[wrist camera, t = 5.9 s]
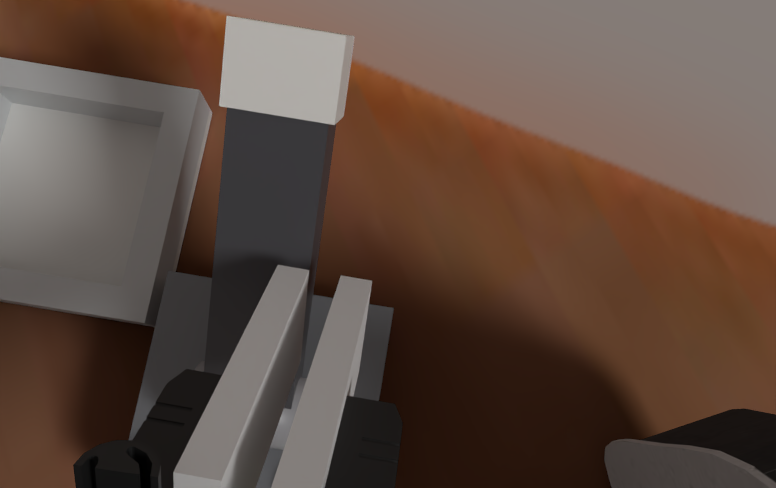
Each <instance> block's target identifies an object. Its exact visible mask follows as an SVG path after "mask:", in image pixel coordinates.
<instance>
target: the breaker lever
mask: <svg viewBox="0 0 776 488" xmlns="http://www.w3.org/2000/svg"><path fill="white" fill-rule="evenodd" d="M353 45H354V36H351V35H345V34H339V33H333V32H327V31H321V30H314V29H308V28H303V27H296V26H290V25H284V24H278V23H272V22H266V21H260V20H254V19H248V18H240V17H232V16H227V19H226V31H225V43H224V54H223V66H222V78H221V90H220V101H219V106H222V107H227V115H226V127H225V138H224V149H223V161H222V172H221V183H220V195H219V206H218V217H217V228H216V240H215V251H214V262H213V274H212V285H211V296H210V308H209V319H208V330H207V342H206V353H205V361H201V362H200V363H199V364H198V365H197V367H196V368H195V370H196V371H202V372H208V373H213V374H219V375H223V373H224V371H225V369H226V367H227V365H228V363H229V361H230V359H231V357H232V355H233V353H234V351H235V349H236V347H237V345H238V343H239V341H240V339H241V337H242V335H243V333H244V331H245V329H246V327H247V325H248V323H249V321H250V319H251V317H252V315H253V313H254V311H255V309H256V307H257V305H258V303H259V301H260V299H261V297H262V295H263V293H264V291H265V289H266V287H267V285H268V283H269V281H270V279H271V277H272V275H273V273H274V272H275V270H276V268H277V266H278V265H283V266H288V267H294V268H300V269H306V270H309V277H308V288H307V298H306V309H305V320H304V331H303V341H302V352H301V361H300V364H299V367H298V370H297V372H296V375H295V378H294V381H293V384H292V387H291V389H290V392H289V395H288V398H287V401H286V403H285V406H284V409H283V412H282V415H281V418H280V420H279V423H278V426H277V429H276V432H275V434H274V437H273V440H272V443H271V446H270V448H275V449H281V450H284V447H285V444H286V441H287V438H288V435H289V432H290V429H291V426H292V423H293V420H294V416H295V413H296V410H297V407H298V404H299V401H300V398H301V395H302V392H303V389H304V386H305V383H306V380H307V378H302V374H303V366H304V359H305V351H306V344H307V336H308V329H309V322H310V314H311V307H312V299H313V292H314V285H315V277H316V270H317V262H318V255H319V247H320V240H321V233H322V225H323V218H324V210H325V203H326V195H327V188H328V181H329V173H330V166H331V158H332V151H333V143H334V136H335V129H336V123H337V122H338V121H339V120H340V119H341V118H342V117H344V110H345V103H346V96H347V88H348V81H349V74H350V66H351V59H352V52H353Z"/></svg>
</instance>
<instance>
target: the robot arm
mask: <svg viewBox="0 0 776 488" xmlns="http://www.w3.org/2000/svg"><path fill="white" fill-rule="evenodd" d="M308 277H309V270H306V269H300V268H294V267H288V266H283V265H278V266H277V268H276V270H275V272H274V273H273V275H272V277H271V279H270V281H269V283H268V285H267V287H266V289H265V291H264V293H263V295H262V297H261V299H260V301H259V303H258V305H257V307H256V309H255V311H254V313H253V315H252V317H251V319H250V321H249V323H248V325H247V327H246V329H245V331H244V333H243V335H242V337H241V339H240V341H239V343H238V345H237V347H236V349H235V351H234V353H233V355H232V357H231V359H230V361H229V363H228V365H227V367H226V369H225V371H224V373H223V375H219V374H213V373H208V372H202V371H196V370H191V369H186V370H184V371H183V372H182V373H180V374H179V375H177V376H176V377H175V378H173V379H172V380H171V381H169V382H168V383H167V384H166V386H165V387H164V389H163V391H162V392H161V394H160V395H159V397H158V399H157V400H156V404H155V405H153V407H152V409H151V410H150V412H149V414H148V415H147V418H146V421H144V422H143V424H142V425H141V427H140V428H139V430H138V432H137V433H136V435H135V437H134V438H133V440H115V441H111V442H107V443H104V444H100V445H98V446H96V447H94V448H92V449H91V450H89V451H87V452H85V453H84V454H83V455H82V456H81V457H80V458H79V459H78V460H77V461H76V463H75V464H74V465H73V466H74V474H75V483H76V488H256V485H257V482H258V480H259V477H260V474H261V471H262V468H263V465H264V463H265V460H266V457H267V454H268V451H269V449H270V446H271V443H272V440H273V437H274V434H275V432H276V429H277V426H278V423H279V420H280V418H281V415H282V412H283V409H284V406H285V403H286V401H287V398H288V395H289V392H290V389H291V387H292V384H293V381H294V378H295V375H296V372H297V370H298V367H299V364H300V361H301V352H302V341H303V331H304V320H305V309H306V298H307V288H308ZM371 286H372V281H370V280H365V279H359V278H353V277H347V276H340V279H339V283H338V286H337V289H336V292H335V295H334V298H333V301H332V304H331V307H330V310H329V313H328V316H327V319H326V322H325V325H324V328H323V331H322V334H321V337H320V340H319V343H318V346H317V350H316V353H315V356H314V359H313V362H312V365H311V368H310V371H309V374H308V377H307V380H306V383H305V386H304V389H303V392H302V395H301V398H300V401H299V404H298V407H297V410H296V413H295V416H294V420H293V423H292V426H291V429H290V432H289V435H288V438H287V441H286V444H285V447H284V450H283V453H282V456H281V459H280V462H279V465H278V468H277V471H276V474H275V477H274V480H273V483H272V487H271V488H395V482H396V474H397V466H398V458H399V450H400V442H401V434H402V426H403V423H402V420H401V418H400V415H399V413H398V410H397V408H396V405H395V404H393V403H387V402H381V401H376V400H370V399H364V398H359V397H353V396H354V391H355V387H356V383H357V378H358V374H359V368H360V362H361V355H362V348H363V341H364V334H365V327H366V320H367V313H368V306H369V299H370V293H371Z"/></svg>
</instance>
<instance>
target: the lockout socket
mask: <svg viewBox="0 0 776 488" xmlns="http://www.w3.org/2000/svg"><path fill="white" fill-rule="evenodd" d="M211 117H212V111H211V110H210V108H209V106H208V104H207V102H206V101H205V99H204V97H203V95H202V93H201V92H200V90H196V89H190V88H184V87H178V86H172V85H166V84H160V83H154V82H148V81H142V80H136V79H130V78H124V77H118V76H112V75H105V74H99V73H93V72H87V71H81V70H75V69H69V68H63V67H57V66H51V65H45V64H39V63H33V62H27V61H21V60H15V59H8V58H2V57H0V302H6V303H12V304H18V305H24V306H30V307H36V308H42V309H48V310H54V311H60V312H66V313H72V314H78V315H84V316H90V317H96V318H102V319H108V320H114V321H120V322H126V323H132V324H138V325H144V326H150V327H155V325H156V320H157V316H158V312H159V308H160V303H161V299H162V295H163V290H164V286H165V282H166V278H167V273H168V271H173V272H176V269H177V265H178V261H179V256H180V252H181V248H182V243H183V239H184V235H185V230H186V226H187V222H188V217H189V213H190V209H191V204H192V200H193V196H194V191H195V187H196V182H197V178H198V174H199V169H200V165H201V161H202V156H203V152H204V148H205V143H206V139H207V135H208V130H209V126H210V122H211Z"/></svg>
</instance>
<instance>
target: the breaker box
mask: <svg viewBox="0 0 776 488" xmlns="http://www.w3.org/2000/svg"><path fill="white" fill-rule="evenodd" d="M211 285H212V278H209V277H203V276H197V275H191V274H185V273H179V272H173V271H168V273H167V278H166V282H165V286H164V290H163V295H162V299H161V303H160V308H159V312H158V316H157V320H156V325H155V329H154V333H153V338H152V342H151V346H150V350H149V355H148V359H147V363H146V368H145V372H144V376H143V381H142V385H141V389H140V393H139V398H138V402H137V406H136V411H135V415H134V419H133V423H132V428H131V432H130V436H129V440H133V438H134V437H135V435H136V433H137V432H138V430H139V428H140V427H141V425H142V424H143V422H144V421H146V418H147V415H148V414H149V412H150V410H151V409H152V407H153V405H155V404H156V400H157V399H158V397H159V395H160V394H161V392H162V391H163V389H164V387H165V386H166V384H167V383H168V382H169V381H171V380H172V379H173V378H175V377H176V376H177V375H179V374H180V373H182V372H183V371H184V370H186V369H191V370H195V368H196V367H197V365H198V364H199V363H200V362H201V361H205V353H206V342H207V330H208V319H209V308H210V296H211ZM332 301H333V298H330V297H324V296H318V295H313V299H312V307H311V314H310V322H309V329H308V336H307V344H306V351H305V359H304V366H303V374H302V378H307V377H308V374H309V371H310V368H311V365H312V362H313V359H314V356H315V353H316V350H317V346H318V343H319V340H320V337H321V334H322V331H323V328H324V325H325V322H326V319H327V316H328V313H329V310H330V307H331V304H332ZM393 310H394V308H390V307H384V306H378V305H372V304H369V306H368V313H367V320H366V327H365V334H364V341H363V348H362V355H361V362H360V368H359V374H358V378H357V383H356V387H355V391H354V396H353V397H359V398H364V399H370V400H376V401H379V397H380V391H381V385H382V379H383V373H384V366H385V360H386V354H387V348H388V341H389V335H390V329H391V323H392V317H393ZM282 453H283V450H281V449H275V448H270V449H269V451H268V454H267V457H266V460H265V463H264V465H263V468H262V471H261V474H260V477H259V480H258V482H257V485H256V488H271V487H272V483H273V480H274V477H275V474H276V471H277V468H278V465H279V462H280V459H281V456H282Z"/></svg>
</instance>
